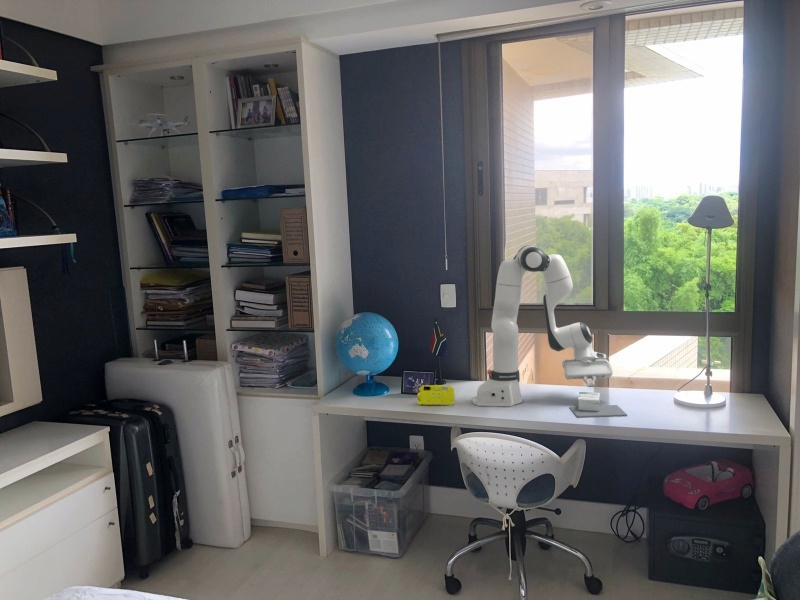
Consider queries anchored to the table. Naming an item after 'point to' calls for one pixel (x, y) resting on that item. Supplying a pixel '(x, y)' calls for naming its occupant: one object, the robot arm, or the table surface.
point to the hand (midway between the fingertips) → (591, 386)
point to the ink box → (588, 401)
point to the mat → (603, 411)
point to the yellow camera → (436, 395)
